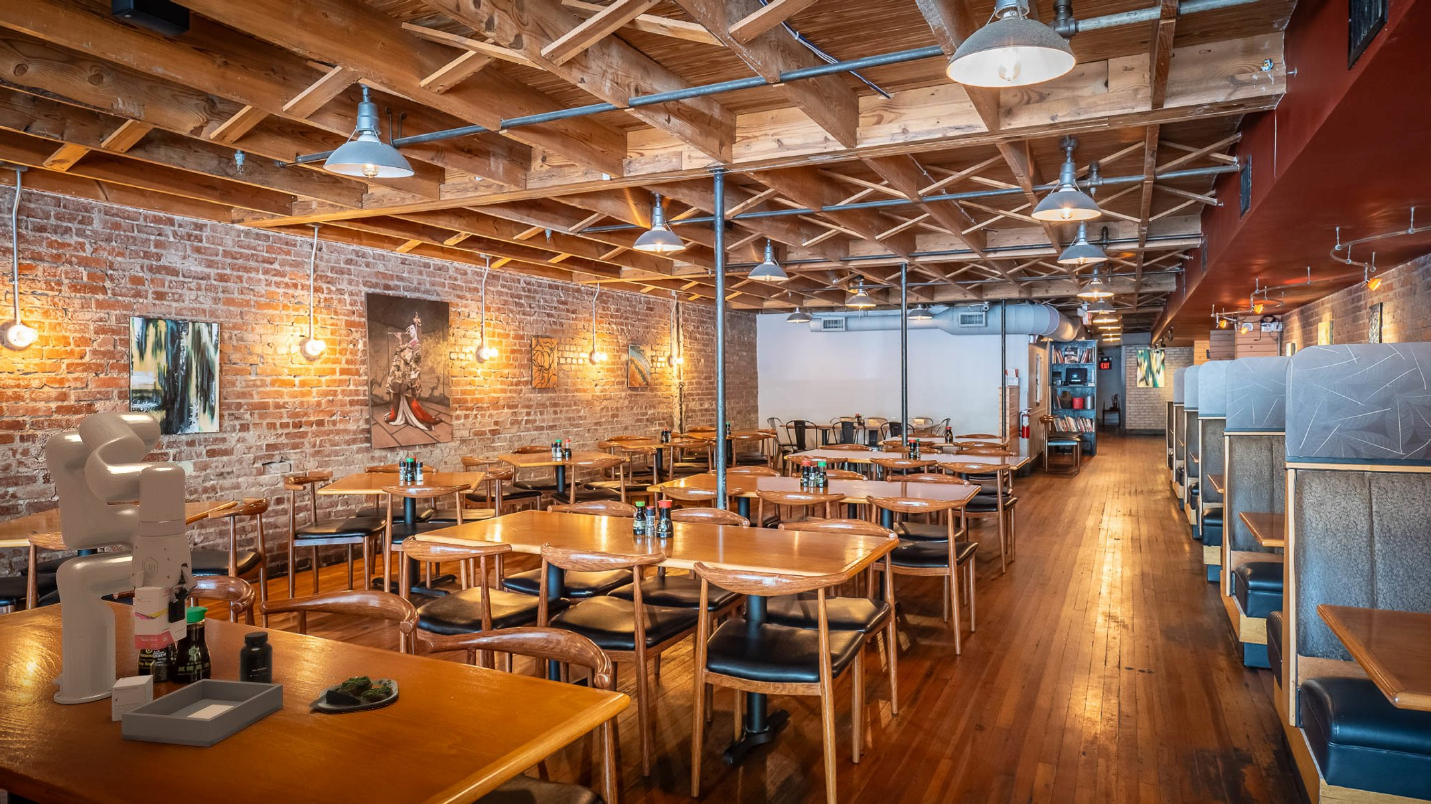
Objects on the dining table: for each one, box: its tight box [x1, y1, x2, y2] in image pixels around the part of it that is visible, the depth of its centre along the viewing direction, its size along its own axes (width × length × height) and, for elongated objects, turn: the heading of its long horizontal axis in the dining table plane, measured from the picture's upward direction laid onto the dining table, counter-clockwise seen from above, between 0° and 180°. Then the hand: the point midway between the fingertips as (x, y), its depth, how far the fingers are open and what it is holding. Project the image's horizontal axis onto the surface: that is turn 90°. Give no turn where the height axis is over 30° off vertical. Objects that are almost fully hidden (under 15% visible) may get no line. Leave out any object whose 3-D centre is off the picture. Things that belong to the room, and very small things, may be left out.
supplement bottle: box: [238, 631, 274, 684], centre depth 189 cm, size 7×7×12 cm
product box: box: [111, 674, 154, 722], centre depth 172 cm, size 6×6×7 cm
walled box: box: [121, 678, 284, 748], centre depth 168 cm, size 20×20×5 cm
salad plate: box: [308, 675, 399, 714], centre depth 182 cm, size 19×18×5 cm
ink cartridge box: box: [134, 571, 188, 650], centre depth 158 cm, size 9×5×15 cm, turn 1°
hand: (163, 619), depth 159 cm, fingers closed on ink cartridge box, 5 cm apart
